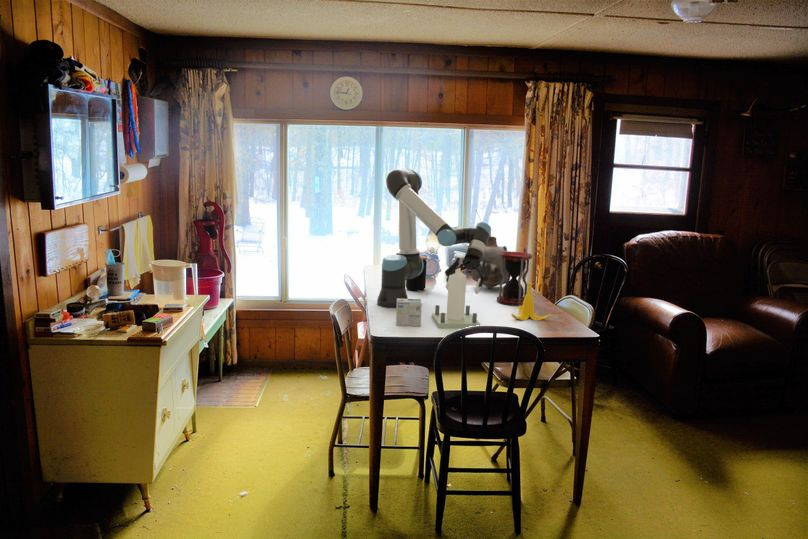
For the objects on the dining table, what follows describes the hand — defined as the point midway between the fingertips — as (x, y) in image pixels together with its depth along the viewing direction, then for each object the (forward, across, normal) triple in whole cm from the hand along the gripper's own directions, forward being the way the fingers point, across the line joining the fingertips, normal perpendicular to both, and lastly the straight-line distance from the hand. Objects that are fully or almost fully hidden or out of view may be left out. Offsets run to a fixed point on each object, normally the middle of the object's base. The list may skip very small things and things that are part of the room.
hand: (461, 290), depth 281 cm
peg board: (+13, 0, -6) cm, 15 cm away
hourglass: (-26, -9, -46) cm, 54 cm away
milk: (+12, 0, -5) cm, 13 cm away
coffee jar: (-25, +45, -45) cm, 69 cm away
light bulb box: (+23, +16, +4) cm, 28 cm away
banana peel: (-6, -26, -27) cm, 38 cm away
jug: (-44, +12, -66) cm, 80 cm away
